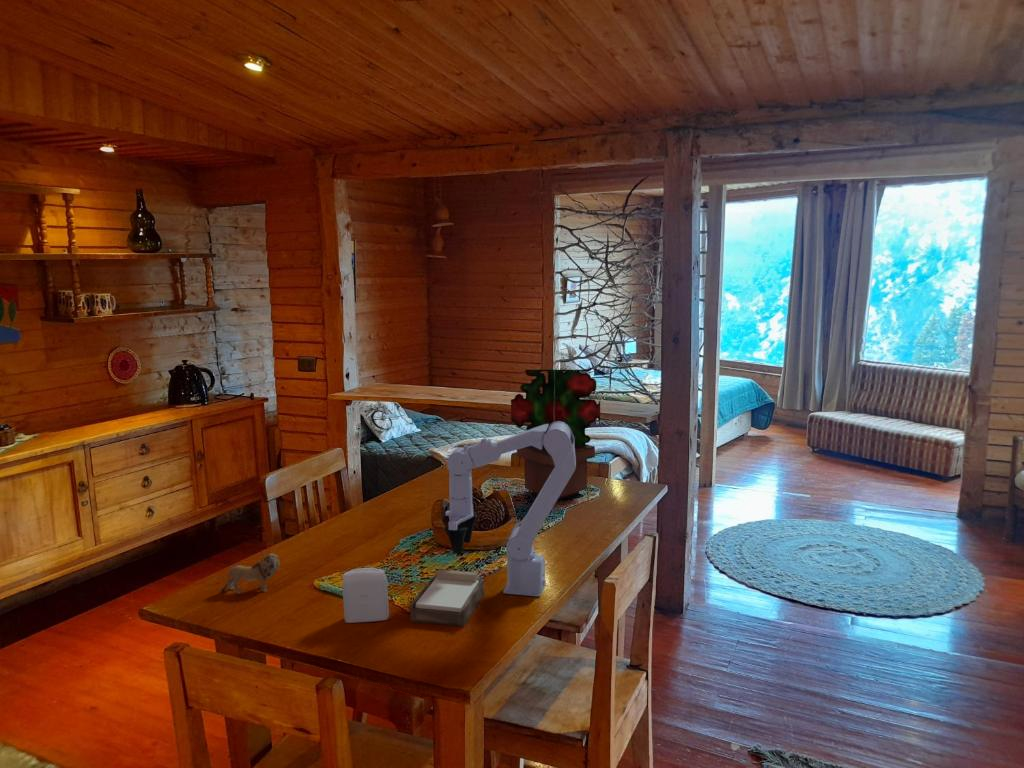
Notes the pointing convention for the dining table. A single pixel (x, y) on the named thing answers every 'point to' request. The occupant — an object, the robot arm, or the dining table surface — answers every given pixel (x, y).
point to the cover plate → (449, 591)
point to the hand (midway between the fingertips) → (461, 547)
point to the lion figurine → (254, 572)
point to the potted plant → (551, 407)
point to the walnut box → (447, 616)
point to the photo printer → (365, 595)
